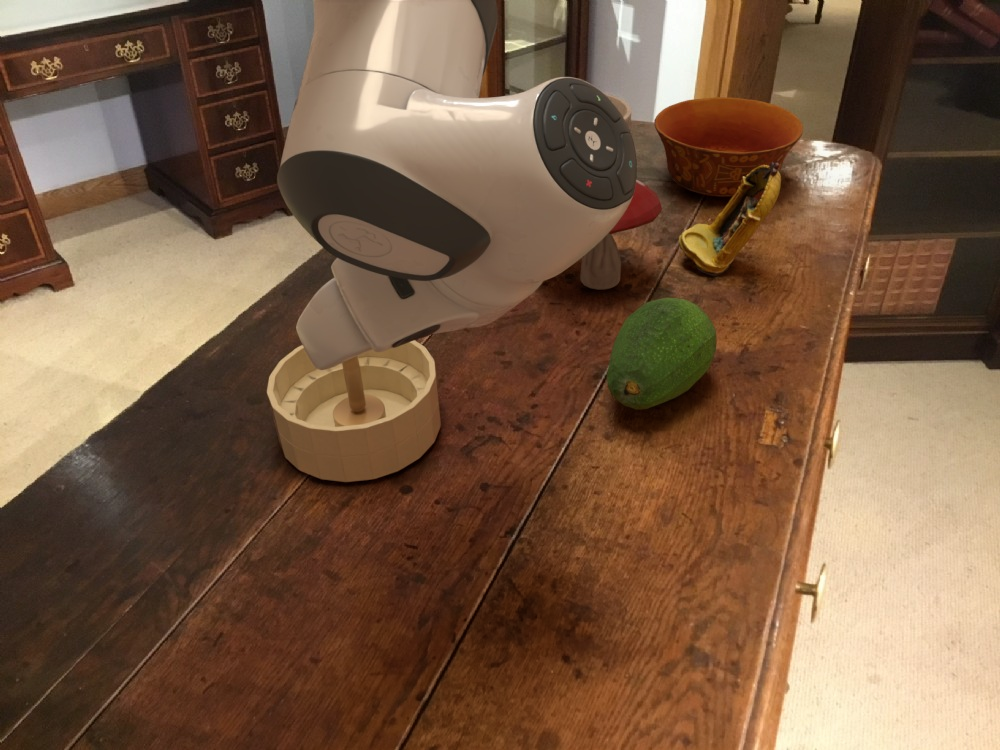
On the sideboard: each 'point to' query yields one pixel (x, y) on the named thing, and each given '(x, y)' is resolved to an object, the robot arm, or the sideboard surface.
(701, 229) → the shrine
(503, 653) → the sideboard surface
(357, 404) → the wooden dowel stand
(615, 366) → the fruit
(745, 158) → the bowl
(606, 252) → the decorative mushroom
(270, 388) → the mixing bowl
